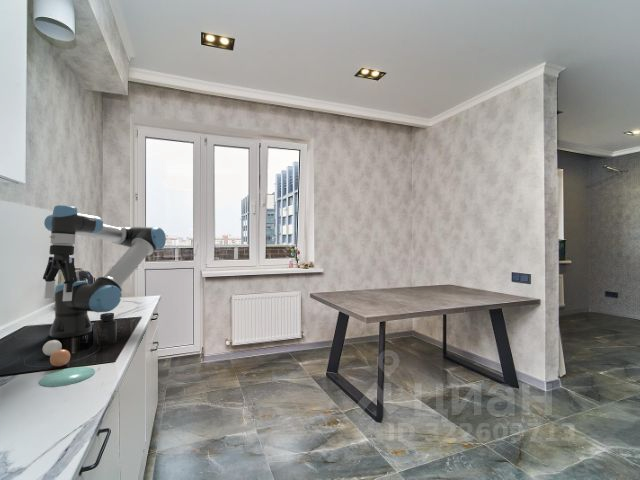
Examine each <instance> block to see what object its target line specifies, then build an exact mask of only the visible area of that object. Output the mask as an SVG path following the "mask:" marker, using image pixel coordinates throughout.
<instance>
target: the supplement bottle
mask: <svg viewBox="0 0 640 480" xmlns="http://www.w3.org/2000/svg"><path fill="white" fill-rule="evenodd" d="M117 327H118V322H117V320H116V319H115V313H114V312H103V313H100V317H99V321H98V322H97V325H96V334H97V335H96V343H97V345H99V346H106V345H107V346H108V345H112V344H115V343H116V342H117V339H118V338H117V336H118V335H117V333H118V329H117Z"/></svg>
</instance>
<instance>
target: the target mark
mask: <svg viewBox="0 0 640 480" xmlns="http://www.w3.org/2000/svg"><path fill="white" fill-rule="evenodd" d="M95 373H96V370H95V368H93V367H88V366H78V367H75V366H74V367H68V368H64V369H60V370H56V371H53V372H51V373H48V374H46V375H44V376H43V377H41V378H40V379H39V381H38V385H40V386H43V387H53V388H54V387H55V388H56V387H61V386H68V385H73V384H77V383H80V382H82V381H85V380H87V379H90V378H91V377H92V376H94V375H95Z"/></svg>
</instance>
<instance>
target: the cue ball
mask: <svg viewBox="0 0 640 480" xmlns="http://www.w3.org/2000/svg"><path fill="white" fill-rule="evenodd" d="M60 349H63V346H62V343H61V342H60V341H59V340H57V339H52V340H48V341H47V342H46V343H44V344H43V346H42V352H43V354H45V356H49V357H51V355H52V354H53V353H54V352H55V351H57V350H60Z"/></svg>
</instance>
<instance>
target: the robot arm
mask: <svg viewBox="0 0 640 480" xmlns="http://www.w3.org/2000/svg"><path fill="white" fill-rule="evenodd" d="M43 224H44V228H46V230H48V231H50V233H51V234H50V235H49V238H50V244H51V245H49V255H53V256H49V257H48V260H47V265H46V268H45V271H44V274H43V277H42V280H44V281H45V286H44V299H53V298H54V315H55V316H54V320H53V323H52V325H51V327H50V330H49V337H51V338H56V339H59V338H61V339H62V338H63V339H64V338H73V337H79V336H83V335H86V334H89V333H91V332H92V330H93V325H92V322H91V320H90V317H89V314H88V312H94V313H109V312H111V311H113V310H114V309H116V308H117V307H118V306H119V304H120V302H121V301H122V299H121V298H122V292H123V291H122V286H123V285H124V284H125V283H126V282H127V280H128V279H129V277H131V275H132V274H133V273H134V272H135V270H136V269H137V268H138V267H139V265H140V264H142V262H143V261H144V260H145V259H146V257H147V256H151V255H153V253H154V252H155V251H156V250H161V249H163V248H164V247H165V245H166V241H167V239H166V238H167V237H166V233H165V231H164V230H163V229H162V227H156V226H122V225H117V226H112V225H109V224H105V223H104V220H103V219H102V218H101V217H99V216H96V215H94V214H91V215H90V214H86V213H85V214H83V213H79V212H78V208H77V207H75V206H72V205H64V204H63V205H62V204H61V205H60V204H59V205H55V206H54V207H53V209H52V214H50V215H48V216H46V217H45V219H44V223H43ZM76 235H77V236H81V237H88V238H93V239H99V240H105V241H109V242H111V243H113V244H115V245H119V246H125V247H128V249H127V250H126V251H125V252H124V253H123V255H122V256H121V257H120V258H119V260H117V262H115V264H114V265H113V266H112V267H111V268H110V269H109V270H108V271H107V272H106V273H105V274H104V276H98V277H97V278H96V279H95V280H94V281H93V282H92V283H91V284H89V281H87V280H78V277H77V272H76V266H75V257H70V256H74V254H75V246H74V245H75V244H76ZM59 271H61V274H62V276H63V280H64V282H63V283H59V284H57V285H55V284H56V277H57V275H58V273H59Z"/></svg>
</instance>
